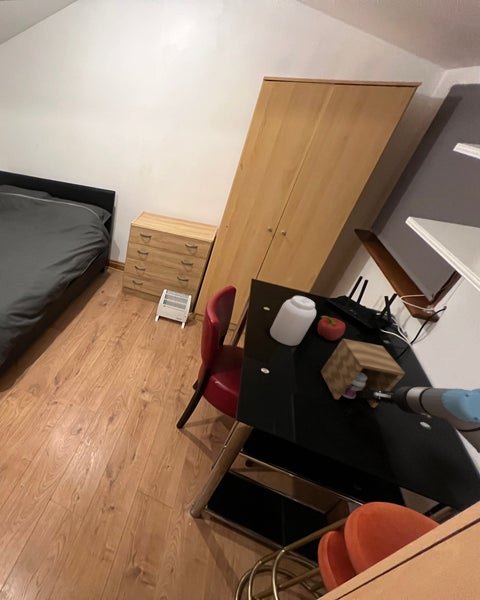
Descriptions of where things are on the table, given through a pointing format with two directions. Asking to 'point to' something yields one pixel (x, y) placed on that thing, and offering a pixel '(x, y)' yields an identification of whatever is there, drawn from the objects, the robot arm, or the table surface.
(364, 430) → the table surface
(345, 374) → the cubby
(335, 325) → the vegetable
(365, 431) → the table surface
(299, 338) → the white jar
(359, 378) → the pill bottle
